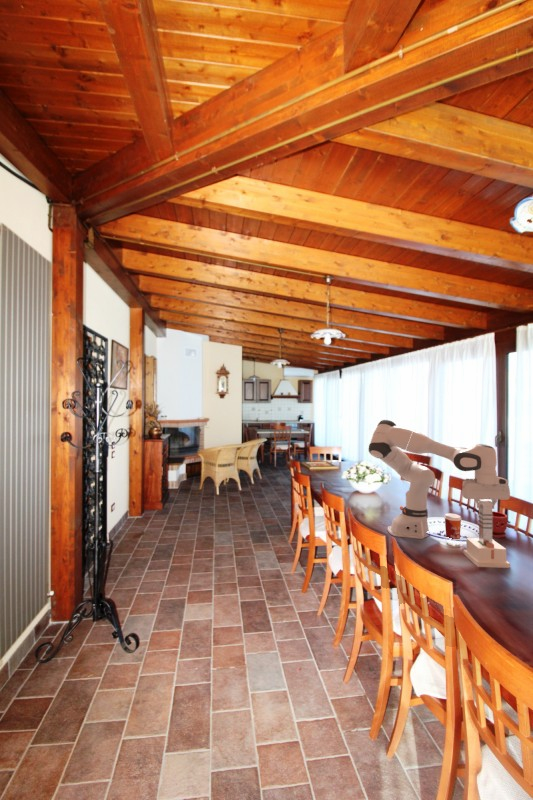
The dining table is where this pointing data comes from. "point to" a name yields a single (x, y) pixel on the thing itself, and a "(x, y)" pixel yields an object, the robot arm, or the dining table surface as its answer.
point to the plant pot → (499, 524)
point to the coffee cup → (452, 525)
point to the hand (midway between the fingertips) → (485, 508)
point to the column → (485, 522)
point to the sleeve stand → (486, 554)
